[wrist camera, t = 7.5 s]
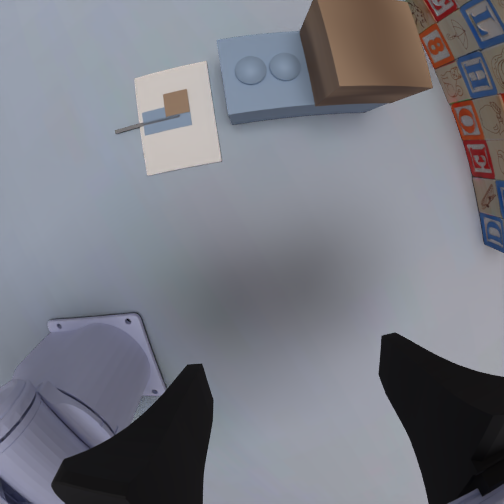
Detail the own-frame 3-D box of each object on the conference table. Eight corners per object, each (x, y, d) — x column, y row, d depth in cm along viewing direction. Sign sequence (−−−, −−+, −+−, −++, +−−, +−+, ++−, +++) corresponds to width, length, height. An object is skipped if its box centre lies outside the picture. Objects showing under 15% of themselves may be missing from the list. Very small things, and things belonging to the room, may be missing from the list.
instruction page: (124, 181, 19) (122, 181, 19) (112, 86, 17) (110, 85, 17) (221, 161, 19) (221, 161, 19) (206, 61, 17) (206, 60, 17)
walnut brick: (315, 106, 15) (339, 86, 10) (299, 32, 13) (315, -6, 9) (390, 103, 14) (433, 87, 10) (373, 33, 13) (407, 2, 9)
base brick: (232, 124, 19) (227, 113, 14) (222, 62, 17) (216, 37, 13) (365, 112, 18) (392, 101, 14) (353, 52, 17) (375, 30, 13)
